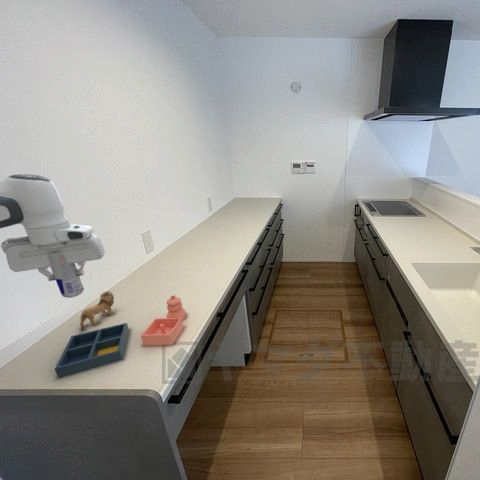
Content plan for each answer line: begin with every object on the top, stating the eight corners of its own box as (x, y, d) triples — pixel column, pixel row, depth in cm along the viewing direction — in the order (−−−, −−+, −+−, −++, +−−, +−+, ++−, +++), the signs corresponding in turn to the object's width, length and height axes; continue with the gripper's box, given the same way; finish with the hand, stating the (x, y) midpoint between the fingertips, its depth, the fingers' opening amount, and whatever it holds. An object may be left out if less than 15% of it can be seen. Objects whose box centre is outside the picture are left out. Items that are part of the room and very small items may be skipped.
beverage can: (80, 288, 84) (64, 244, 78) (87, 292, 81) (71, 248, 76) (59, 295, 79) (41, 250, 74) (66, 300, 77) (48, 254, 72)
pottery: (172, 344, 89) (166, 321, 86) (143, 345, 89) (136, 321, 85) (193, 312, 106) (189, 291, 103) (169, 313, 106) (164, 292, 102)
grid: (58, 378, 76) (54, 369, 75) (74, 344, 89) (71, 335, 88) (122, 359, 83) (119, 351, 82) (129, 330, 96) (126, 322, 95)
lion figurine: (109, 307, 108) (103, 288, 105) (121, 308, 108) (116, 289, 105) (75, 331, 95) (67, 310, 92) (89, 332, 94) (81, 311, 91)
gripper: (-9, 243, 66) (13, 291, 71) (93, 231, 75) (107, 274, 80) (4, 236, 71) (24, 280, 76) (98, 225, 80) (111, 266, 85)
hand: (67, 277), depth 78 cm, fingers closed on beverage can, 5 cm apart
